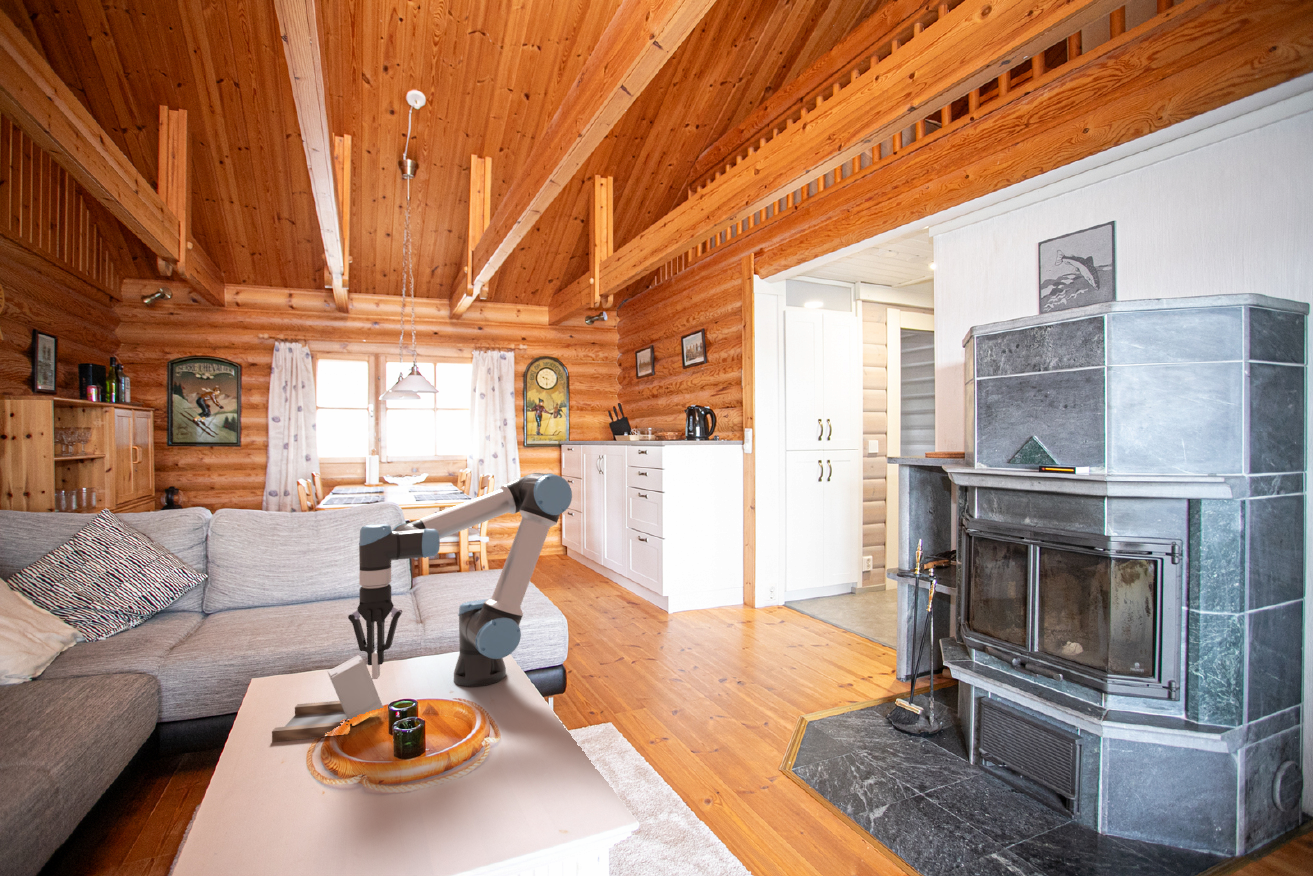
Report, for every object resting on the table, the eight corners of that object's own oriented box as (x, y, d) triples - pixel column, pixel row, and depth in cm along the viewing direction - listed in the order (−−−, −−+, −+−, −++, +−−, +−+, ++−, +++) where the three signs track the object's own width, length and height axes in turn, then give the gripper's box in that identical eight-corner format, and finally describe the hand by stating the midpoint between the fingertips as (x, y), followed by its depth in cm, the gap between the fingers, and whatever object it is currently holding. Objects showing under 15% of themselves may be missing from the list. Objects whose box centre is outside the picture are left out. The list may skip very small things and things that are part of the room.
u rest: (366, 707, 168) (366, 698, 168) (348, 734, 153) (348, 724, 153) (297, 713, 165) (297, 704, 165) (272, 742, 150) (271, 731, 150)
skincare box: (378, 703, 166) (360, 653, 163) (385, 711, 161) (366, 659, 158) (345, 721, 161) (326, 669, 158) (351, 729, 156) (331, 676, 153)
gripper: (404, 580, 166) (405, 670, 166) (353, 583, 164) (353, 674, 163) (398, 586, 159) (399, 680, 159) (344, 589, 157) (344, 684, 156)
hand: (375, 677), depth 161 cm, fingers closed
